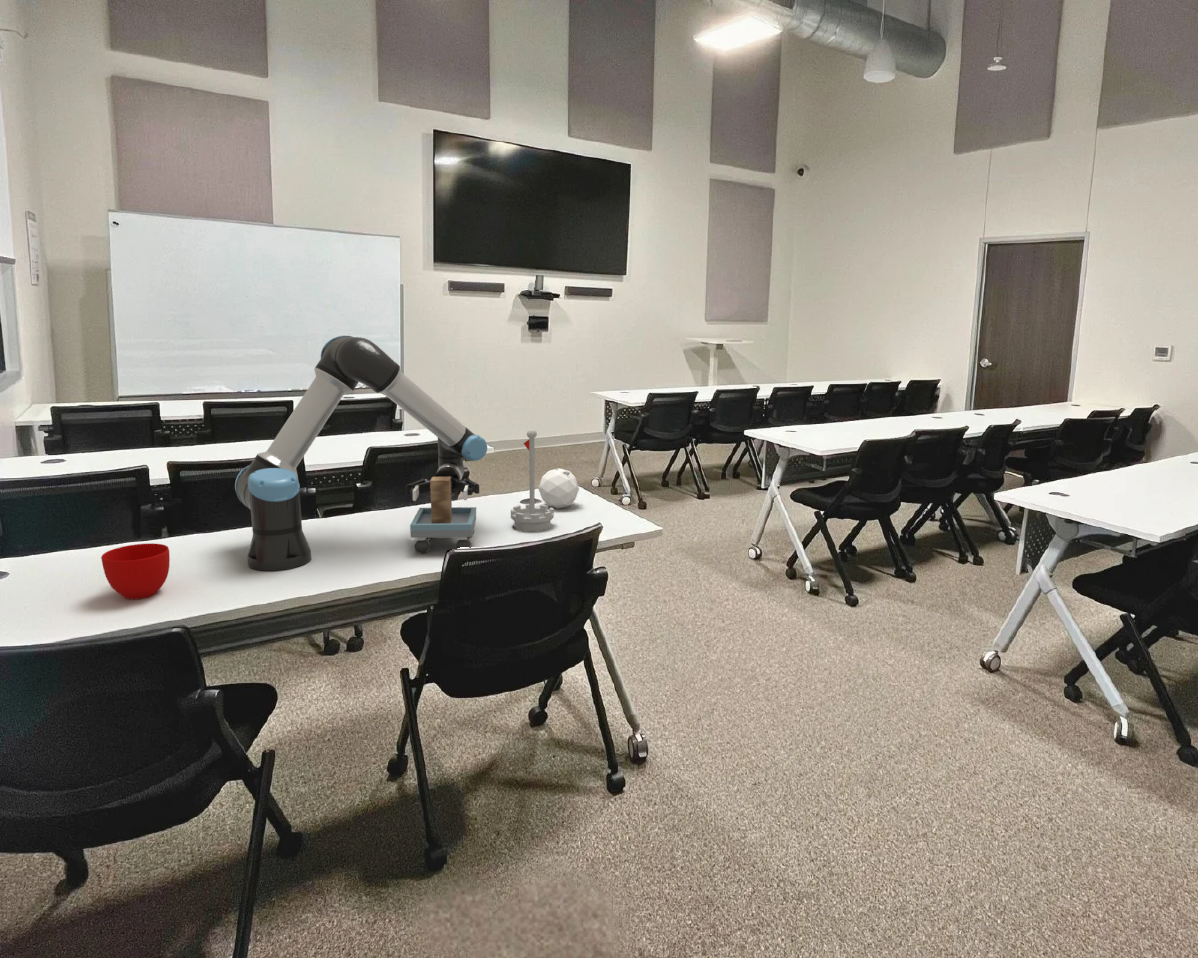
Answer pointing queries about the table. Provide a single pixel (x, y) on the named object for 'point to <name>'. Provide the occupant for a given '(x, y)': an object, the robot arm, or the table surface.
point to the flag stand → (532, 500)
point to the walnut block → (441, 500)
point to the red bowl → (137, 569)
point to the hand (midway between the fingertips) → (439, 495)
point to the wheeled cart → (443, 527)
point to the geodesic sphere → (558, 488)
